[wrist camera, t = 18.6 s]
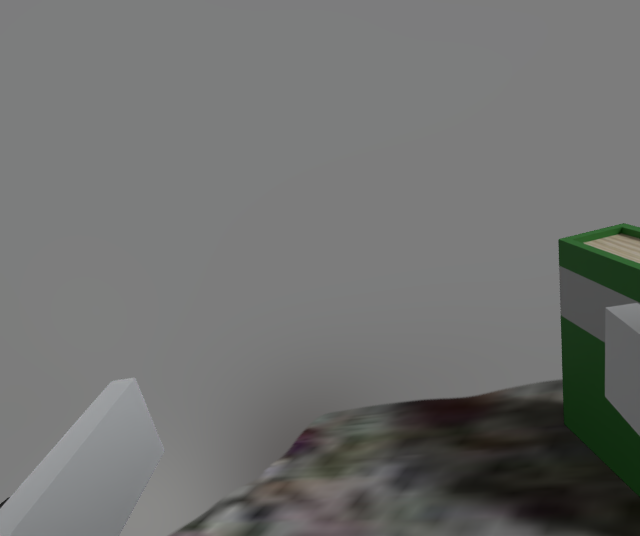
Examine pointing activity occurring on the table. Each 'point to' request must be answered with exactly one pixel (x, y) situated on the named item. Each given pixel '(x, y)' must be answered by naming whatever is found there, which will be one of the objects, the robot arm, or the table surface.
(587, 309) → the hardback book
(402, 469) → the table surface
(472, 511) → the table surface
